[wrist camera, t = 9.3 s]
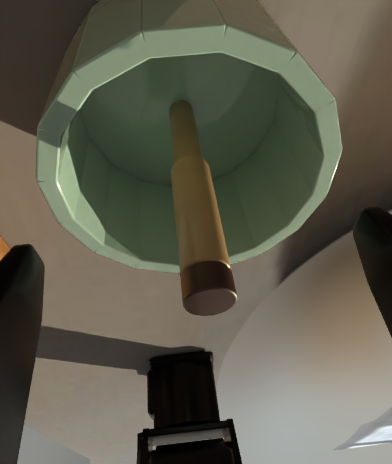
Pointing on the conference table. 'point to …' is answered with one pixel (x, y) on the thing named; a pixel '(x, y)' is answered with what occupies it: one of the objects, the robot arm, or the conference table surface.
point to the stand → (3, 248)
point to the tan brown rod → (198, 222)
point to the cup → (207, 121)
